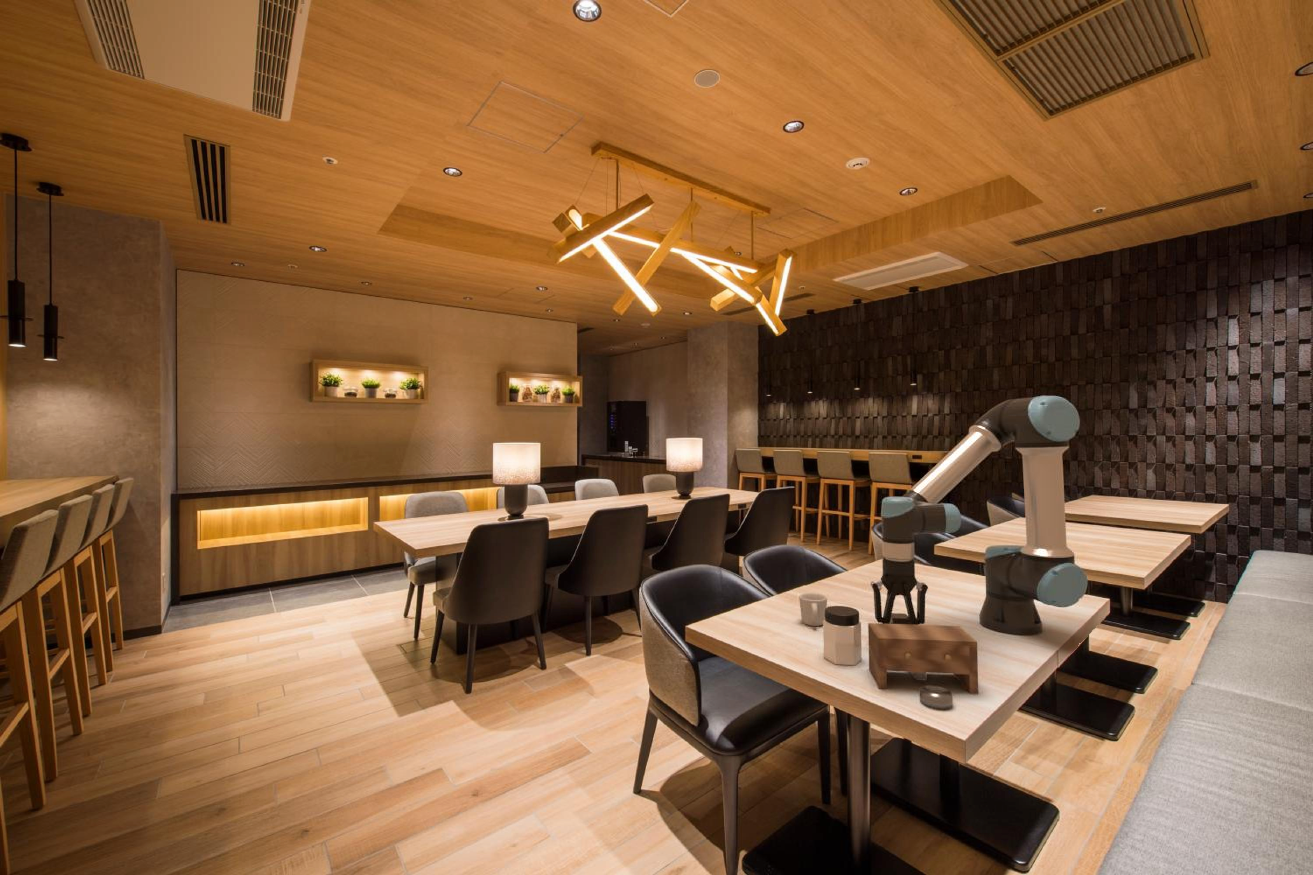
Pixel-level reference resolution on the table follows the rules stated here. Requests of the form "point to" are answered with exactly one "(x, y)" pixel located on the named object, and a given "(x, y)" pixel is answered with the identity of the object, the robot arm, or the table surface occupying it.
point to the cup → (813, 608)
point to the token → (936, 697)
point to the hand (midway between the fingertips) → (900, 649)
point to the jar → (842, 635)
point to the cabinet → (922, 652)
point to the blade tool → (904, 619)
